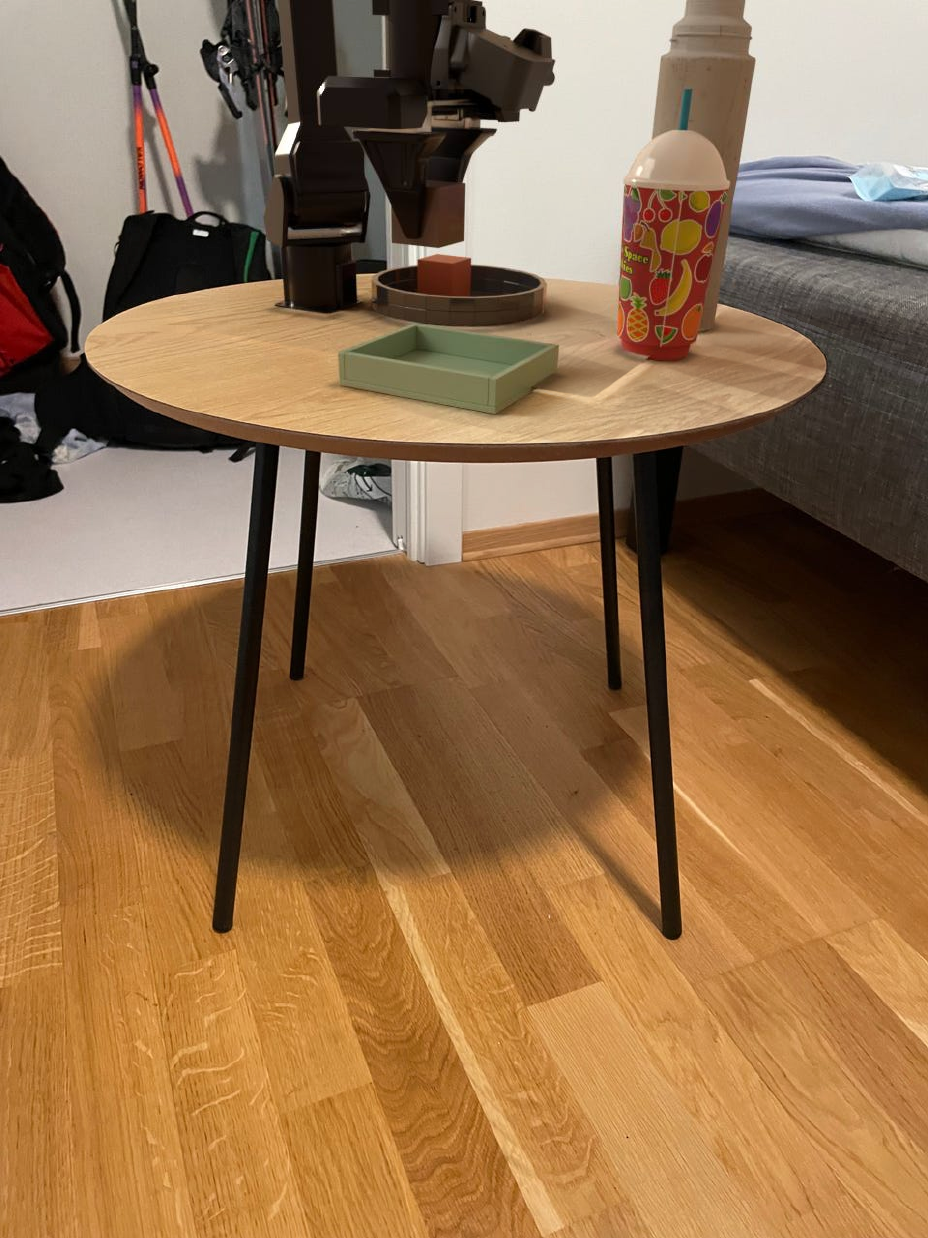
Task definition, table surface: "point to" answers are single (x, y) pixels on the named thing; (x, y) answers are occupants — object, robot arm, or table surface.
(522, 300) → the pan
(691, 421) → the table surface
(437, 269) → the terracotta block
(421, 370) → the tray
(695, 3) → the thermos bottle
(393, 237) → the walnut block
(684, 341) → the smoothie
